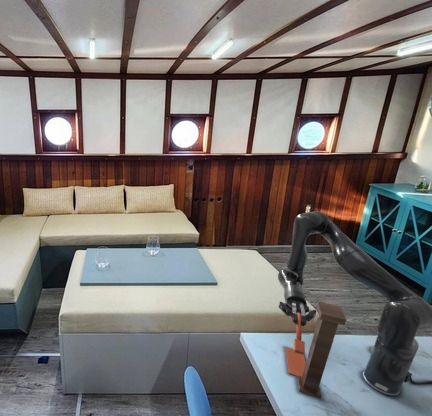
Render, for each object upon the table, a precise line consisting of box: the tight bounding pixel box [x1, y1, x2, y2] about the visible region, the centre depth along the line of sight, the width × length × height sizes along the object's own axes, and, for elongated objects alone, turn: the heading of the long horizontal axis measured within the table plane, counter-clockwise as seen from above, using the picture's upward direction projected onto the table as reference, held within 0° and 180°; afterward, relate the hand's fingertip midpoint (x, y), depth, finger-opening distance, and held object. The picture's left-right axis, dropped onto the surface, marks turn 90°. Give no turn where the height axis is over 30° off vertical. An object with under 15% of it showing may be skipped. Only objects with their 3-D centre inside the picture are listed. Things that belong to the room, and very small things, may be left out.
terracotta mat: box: [285, 347, 306, 377], centre depth 106 cm, size 13×6×1 cm, turn 154°
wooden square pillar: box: [296, 301, 347, 399], centre depth 92 cm, size 6×6×32 cm
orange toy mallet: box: [293, 313, 306, 355], centre depth 106 cm, size 15×3×2 cm
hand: (299, 323), depth 107 cm, fingers closed on orange toy mallet, 1 cm apart
